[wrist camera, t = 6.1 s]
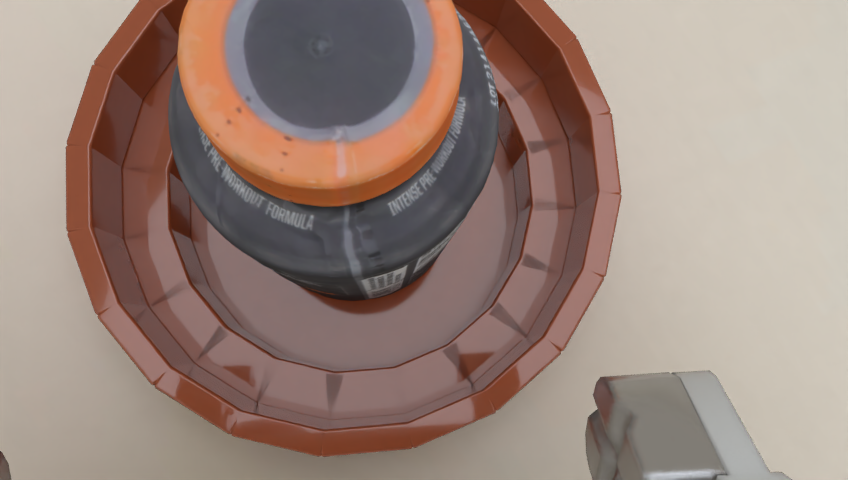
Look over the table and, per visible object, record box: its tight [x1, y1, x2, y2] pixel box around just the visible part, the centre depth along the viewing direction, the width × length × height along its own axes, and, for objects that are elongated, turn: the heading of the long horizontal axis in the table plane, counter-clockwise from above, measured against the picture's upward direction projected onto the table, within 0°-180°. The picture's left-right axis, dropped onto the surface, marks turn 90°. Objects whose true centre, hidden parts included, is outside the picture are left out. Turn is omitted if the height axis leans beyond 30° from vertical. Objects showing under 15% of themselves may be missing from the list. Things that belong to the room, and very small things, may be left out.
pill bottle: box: [168, 0, 499, 301], centre depth 15 cm, size 6×6×11 cm
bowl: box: [66, 0, 621, 457], centre depth 19 cm, size 13×13×4 cm
